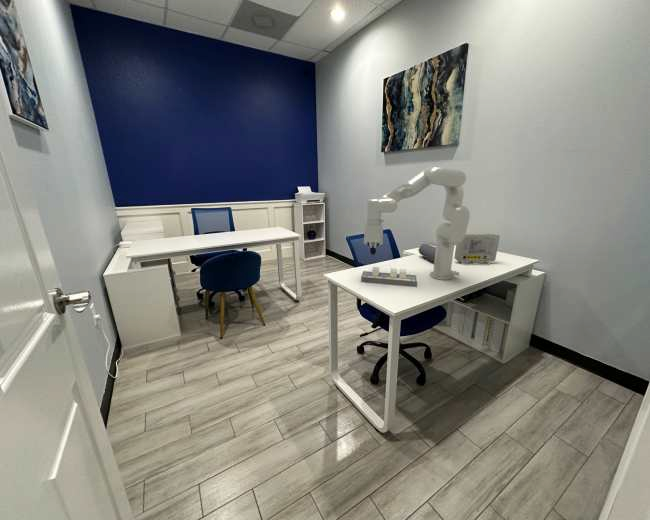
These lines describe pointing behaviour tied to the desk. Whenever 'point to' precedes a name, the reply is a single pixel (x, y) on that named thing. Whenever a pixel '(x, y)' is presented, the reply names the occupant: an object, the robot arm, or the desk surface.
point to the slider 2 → (402, 273)
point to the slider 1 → (375, 271)
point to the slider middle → (393, 273)
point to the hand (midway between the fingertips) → (373, 254)
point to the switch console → (389, 279)
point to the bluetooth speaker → (428, 252)
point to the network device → (477, 248)
